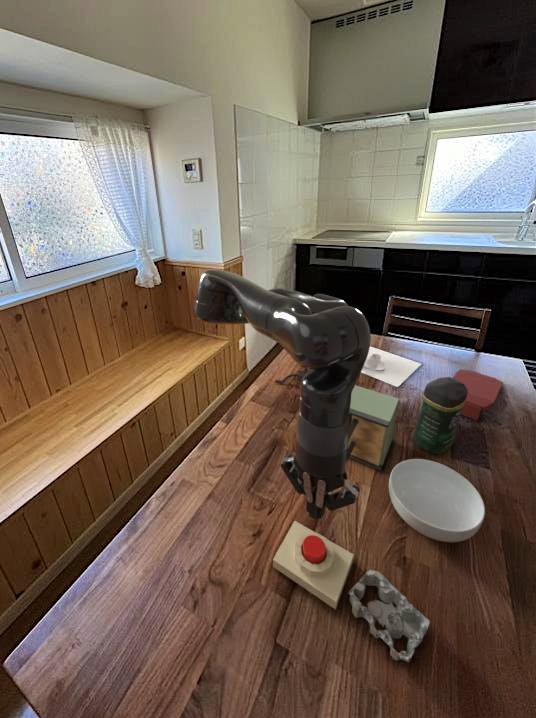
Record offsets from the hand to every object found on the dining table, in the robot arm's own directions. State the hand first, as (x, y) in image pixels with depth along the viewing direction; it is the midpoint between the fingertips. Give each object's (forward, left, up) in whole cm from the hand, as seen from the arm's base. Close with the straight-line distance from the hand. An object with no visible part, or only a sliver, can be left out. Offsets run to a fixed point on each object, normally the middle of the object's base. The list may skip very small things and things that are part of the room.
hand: (315, 514), depth 57 cm
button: (0, 0, -10) cm, 10 cm away
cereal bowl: (+12, +25, -14) cm, 31 cm away
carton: (+8, +77, -14) cm, 78 cm away
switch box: (0, 0, -14) cm, 14 cm away
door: (-4, +24, -13) cm, 28 cm away
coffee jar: (+6, +47, -14) cm, 50 cm away
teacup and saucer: (-20, +76, -14) cm, 80 cm away
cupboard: (-9, +34, -14) cm, 38 cm away
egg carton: (+13, +1, -14) cm, 19 cm away
